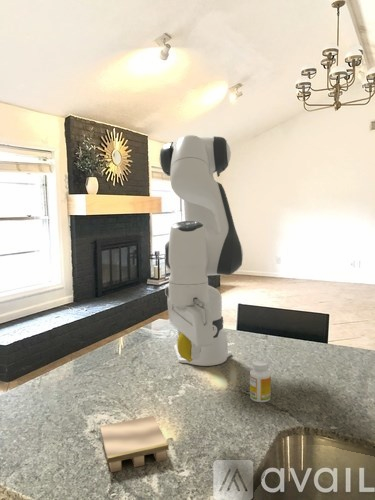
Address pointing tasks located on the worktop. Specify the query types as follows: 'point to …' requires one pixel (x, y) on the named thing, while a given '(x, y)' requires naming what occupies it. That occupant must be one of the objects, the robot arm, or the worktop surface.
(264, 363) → the supplement bottle
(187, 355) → the lemon
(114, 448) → the platform
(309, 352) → the worktop surface
